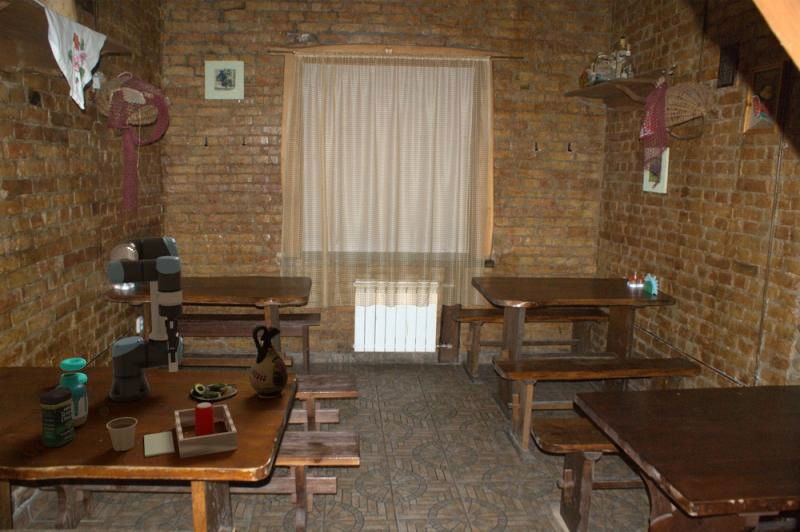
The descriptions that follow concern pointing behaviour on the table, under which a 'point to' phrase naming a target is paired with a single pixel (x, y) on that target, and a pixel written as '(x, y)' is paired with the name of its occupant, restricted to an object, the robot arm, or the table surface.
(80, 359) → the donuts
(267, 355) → the ceramic jug
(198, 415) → the beverage can
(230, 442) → the frame
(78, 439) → the table surface
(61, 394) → the coffee jar
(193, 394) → the salad plate
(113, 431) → the flower pot
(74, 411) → the vase
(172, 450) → the mat
